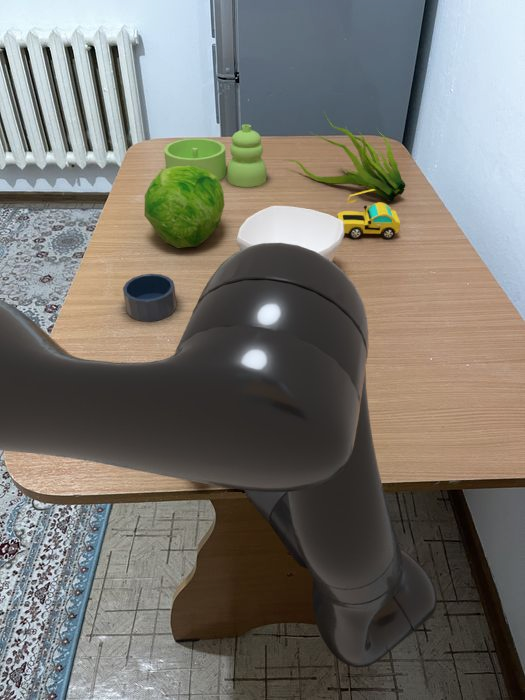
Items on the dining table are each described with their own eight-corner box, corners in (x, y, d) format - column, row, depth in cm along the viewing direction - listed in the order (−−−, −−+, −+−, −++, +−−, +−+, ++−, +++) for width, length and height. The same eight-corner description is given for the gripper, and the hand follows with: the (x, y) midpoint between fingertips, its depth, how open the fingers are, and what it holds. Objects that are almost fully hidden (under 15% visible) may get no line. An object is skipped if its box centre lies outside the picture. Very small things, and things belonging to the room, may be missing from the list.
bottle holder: (120, 319, 92) (116, 299, 89) (135, 292, 98) (132, 272, 96) (169, 323, 91) (166, 302, 88) (181, 295, 97) (179, 275, 95)
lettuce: (158, 218, 125) (226, 230, 126) (131, 246, 105) (212, 260, 105) (163, 149, 119) (235, 162, 119) (136, 165, 99) (222, 180, 99)
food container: (157, 181, 136) (151, 127, 128) (180, 159, 146) (175, 109, 138) (257, 193, 130) (257, 138, 122) (273, 170, 141) (274, 118, 133)
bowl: (352, 264, 106) (358, 218, 100) (316, 313, 93) (320, 264, 87) (267, 244, 112) (267, 199, 106) (222, 287, 99) (220, 239, 93)
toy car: (392, 224, 119) (398, 185, 113) (398, 241, 113) (405, 202, 107) (335, 223, 119) (338, 185, 113) (338, 240, 113) (342, 201, 107)
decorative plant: (341, 158, 148) (346, 99, 139) (407, 202, 127) (419, 136, 117) (279, 168, 142) (280, 107, 133) (337, 216, 121) (343, 147, 112)
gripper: (332, 424, 61) (257, 343, 71) (213, 478, 55) (151, 381, 66) (327, 469, 65) (257, 386, 76) (217, 523, 60) (158, 426, 70)
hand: (208, 384), depth 71 cm, fingers open, 8 cm apart
